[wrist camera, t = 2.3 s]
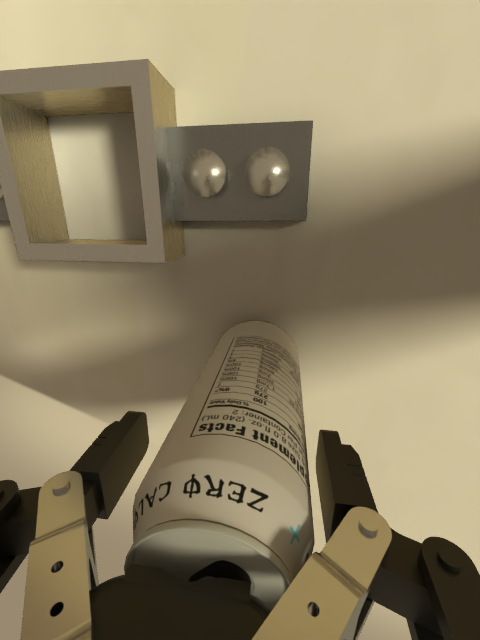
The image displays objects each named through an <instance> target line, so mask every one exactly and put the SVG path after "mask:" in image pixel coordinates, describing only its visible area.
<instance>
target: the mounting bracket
mask: <svg viewBox="0 0 480 640" xmlns="http://www.w3.org/2000/svg"><path fill="white" fill-rule="evenodd" d="M116 112H134V121H135V130H136V140H137V150H138V160H139V170H140V180H141V190H142V200H143V209H144V219H145V229H146V239H147V240H71V239H69V236H68V231H67V226H66V220H65V215H64V209H63V204H62V199H61V193H60V188H59V182H58V177H57V171H56V166H55V161H54V155H53V150H52V144H51V139H50V134H49V128H48V123H47V117H46V116H60V115H79V114H97V113H116ZM312 128H313V121H294V122H272V123H250V124H228V125H206V126H184V127H177V125H176V108H175V92H174V88H173V87H172V86H171V85H170V84H169V82H168V81H167V80H166V79H165V78H164V77H163V76H162V74H161V73H160V72H159V71H158V70H157V69H156V67H155V66H154V65H153V64H152V63H151V62H150V61H149V59H142V60H129V61H117V62H104V63H92V64H79V65H67V66H54V67H42V68H29V69H17V70H4V71H0V221H10V224H11V228H12V232H13V236H14V241H15V245H16V249H17V253H18V257H19V260H60V261H106V262H153V263H166V262H169V261H171V260H174V259H177V258H179V257H182V256H185V255H184V239H183V222H182V221H306V215H307V200H308V186H309V171H310V157H311V142H312Z"/></svg>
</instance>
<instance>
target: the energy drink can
mask: <svg viewBox="0 0 480 640" xmlns="http://www.w3.org/2000/svg"><path fill="white" fill-rule="evenodd" d="M133 534H134V535H133V542H134V543H133V545H132V547H131V548H130V550H129V552H128V554H127V556H126V561H125V566H124V571H125V575H126V572H127V570H128V568H129V566H130V563H133V564H139V565H146V566H152V567H158V568H161V569H163V570H165V571H166V572H168V573H170V574H172V575H174V576H176V577H178V578H180V579H182V580H184V581H186V582H191V581H198V580H205V579H212V578H219V577H221V578H228V579H234V580H240V581H246V582H251V591H250V594H252V595H253V596H255V597H257V598H259V599H260V600H261V601H263V602H264V603H265V604H266V605H267V606H268V607H270V608H271V610H273V608H274V607H275V606H276V604H277V603H278V601H279V600H280V599H281V597H282V596H283V594H284V593H285V591H286V590H287V589H288V587H289V586H290V584H291V583H292V582H293V580H294V579H295V577H296V576H297V574H298V573H299V572H300V570H301V569H302V567H303V566H304V565H305V563H306V562H307V560H308V559H309V558H310V556H311V555H312V551H313V547H314V529H313V517H312V506H311V494H310V483H309V471H308V460H307V448H306V437H305V425H304V414H303V403H302V391H301V380H300V368H299V357H298V352H297V348H296V346H295V344H294V342H293V340H292V339H291V338H290V337H289V335H288V334H287V333H286V332H284V331H283V330H282V329H281V328H279V327H277V326H275V325H273V324H270V323H267V322H263V321H246V322H243V323H239V324H237V325H235V326H233V327H231V328H230V329H229V330H228V331H226V332H225V333H224V335H223V336H222V337H221V338H220V340H219V342H218V344H217V346H216V348H215V349H214V351H213V353H212V355H211V357H210V358H209V360H208V362H207V364H206V366H205V368H204V369H203V371H202V373H201V375H200V377H199V379H198V380H197V382H196V384H195V386H194V388H193V390H192V391H191V393H190V395H189V397H188V399H187V401H186V402H185V404H184V406H183V408H182V410H181V411H180V413H179V415H178V417H177V419H176V421H175V422H174V424H173V426H172V428H171V430H170V432H169V433H168V435H167V437H166V439H165V441H164V443H163V444H162V446H161V448H160V450H159V452H158V454H157V456H156V457H155V459H154V461H153V463H152V464H151V466H150V468H149V470H148V472H147V474H146V475H145V478H144V479H143V481H142V483H141V485H140V487H139V489H138V491H137V493H136V495H135V500H134V505H133Z"/></svg>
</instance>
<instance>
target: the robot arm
mask: <svg viewBox="0 0 480 640" xmlns="http://www.w3.org/2000/svg"><path fill="white" fill-rule="evenodd" d="M148 444H149V436H148V426H147V417H146V414H145V413H144V412H135V411H128V412H127V413H126V414H125V415H124V417H123V418H122V419H121V420H120V421H115V422H113V423H112V424H110V425H109V426H107V427H106V428H105V429H104V430H103V431H102V432H101V434H100V435H99V436H98V438H97V439H96V440H95V441H94V442H93V443H92V445H91V446H90V447H89V448H88V449H87V450H86V452H85V453H84V454H83V455H82V456H81V458H80V459H79V460H78V461H77V462H76V464H75V465H74V466H73V467H72V468H71V469H70V471H67V472H62V473H59V474H57V475H55V476H54V477H52V478H50V479H49V480H48V481H47V482H46V483H45V484H44V485H43V486H42V487H36V488H30V489H24V490H19V488H18V485H17V483H16V482H15V481H12V480H3V481H0V593H1V592H2V590H3V589H4V587H5V586H6V584H7V583H8V582H9V580H10V579H11V577H12V576H13V574H14V573H15V572H16V570H17V569H18V567H19V566H20V564H21V563H22V561H23V560H24V559H25V557H26V556H27V554H28V553H29V556H28V567H27V576H26V586H25V597H24V608H23V618H22V630H21V639H20V640H357V639H358V637H359V635H360V633H361V630H362V628H363V626H364V624H365V622H366V620H367V617H368V615H369V613H370V611H371V608H372V606H373V604H374V602H376V603H378V604H380V605H382V606H384V607H386V608H388V609H390V610H392V611H394V612H395V613H397V614H399V615H401V616H403V617H405V618H406V619H407V622H408V627H409V630H410V634H411V637H412V640H480V575H479V573H478V571H477V569H476V567H475V565H474V563H473V562H472V560H471V559H470V557H469V556H468V555H467V554H466V553H465V552H464V551H463V550H462V549H461V548H459V547H458V546H457V545H455V544H454V543H452V542H450V541H448V540H446V539H444V538H440V537H429V538H427V539H425V540H424V541H423V543H419V542H417V541H414V540H412V539H410V538H407V537H405V536H403V535H401V534H399V533H397V532H395V531H394V530H393V529H391V528H390V526H389V524H388V523H387V521H386V520H385V519H384V518H383V517H382V516H381V515H380V514H379V513H378V511H377V508H376V505H375V502H374V499H373V496H372V493H371V490H370V487H369V484H368V481H367V478H366V477H365V472H364V469H363V468H362V463H361V460H360V457H359V455H358V453H357V452H356V451H355V450H354V449H353V447H352V446H351V445H345V444H341V441H340V437H339V434H338V432H337V431H329V430H320V431H319V438H318V446H317V454H316V474H317V481H318V488H319V495H320V502H321V509H322V516H323V523H324V530H325V537H326V545H325V547H324V548H323V550H322V551H321V552H320V553H317V552H314V553H313V554H312V555H311V556H310V558H309V559H308V560H307V562H306V563H305V565H304V566H303V567H302V569H301V570H300V572H299V573H298V574H297V576H296V577H295V579H294V580H293V582H292V583H291V584H290V586H289V587H288V589H287V590H286V591H285V593H284V594H283V596H282V597H281V599H280V600H279V601H278V603H277V604H276V606H275V607H274V608H273V610H271V608H270V607H268V606H267V605H266V604H265V603H264V602H263V601H261V600H260V599H259V598H257V597H255V596H253V595H252V594H250V591H251V582H246V581H240V580H234V579H228V578H221V577H219V578H212V579H205V580H198V581H191V582H186V581H184V580H182V579H180V578H178V577H176V576H174V575H172V574H170V573H168V572H166V571H165V570H163V569H161V568H158V567H152V566H146V565H139V564H133V563H130V566H129V568H128V570H127V572H126V575H121V576H118V577H115V578H112V579H110V580H107V581H105V582H104V583H101V584H100V585H99V580H98V574H97V564H96V554H95V544H94V534H93V527H92V525H93V524H94V522H95V521H96V519H97V518H101V519H108V518H109V516H110V514H111V513H112V511H113V509H114V507H115V506H116V504H117V502H118V501H119V499H120V497H121V495H122V493H123V492H124V490H125V488H126V487H127V485H128V483H129V481H130V480H131V478H132V476H133V474H134V473H135V471H136V469H137V467H138V466H139V464H140V462H141V461H142V459H143V457H144V455H145V453H146V451H147V448H148Z"/></svg>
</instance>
